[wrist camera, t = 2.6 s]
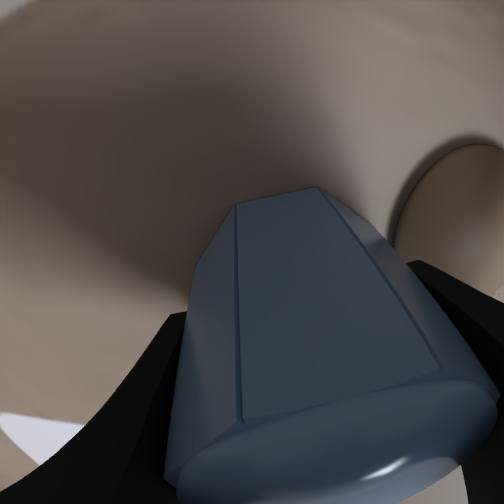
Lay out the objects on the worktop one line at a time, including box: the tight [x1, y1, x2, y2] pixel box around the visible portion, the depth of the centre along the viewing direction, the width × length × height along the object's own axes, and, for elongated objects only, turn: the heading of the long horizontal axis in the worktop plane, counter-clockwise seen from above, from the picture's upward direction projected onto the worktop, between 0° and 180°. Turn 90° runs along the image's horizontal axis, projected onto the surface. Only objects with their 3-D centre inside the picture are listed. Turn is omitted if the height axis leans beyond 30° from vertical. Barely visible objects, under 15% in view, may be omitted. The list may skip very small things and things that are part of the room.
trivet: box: [393, 144, 504, 297], centre depth 10 cm, size 7×7×1 cm
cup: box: [164, 187, 500, 504], centre depth 7 cm, size 6×6×7 cm
